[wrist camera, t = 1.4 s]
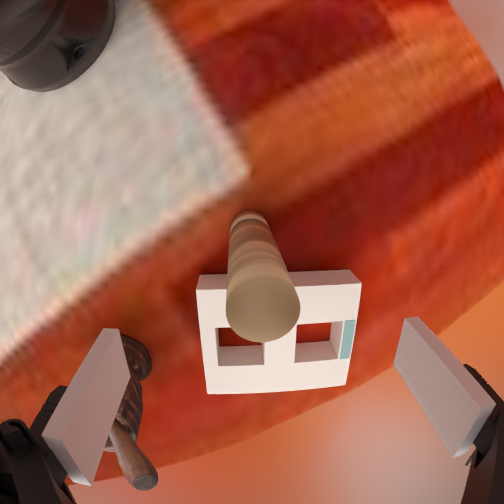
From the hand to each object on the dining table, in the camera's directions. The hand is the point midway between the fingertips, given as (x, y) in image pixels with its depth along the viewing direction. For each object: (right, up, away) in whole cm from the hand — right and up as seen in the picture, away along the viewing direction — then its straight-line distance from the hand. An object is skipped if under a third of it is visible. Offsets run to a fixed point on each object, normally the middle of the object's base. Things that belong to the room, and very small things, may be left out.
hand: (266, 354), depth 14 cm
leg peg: (-1, +7, +20) cm, 22 cm away
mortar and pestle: (-16, -9, +25) cm, 31 cm away
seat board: (+2, -4, +24) cm, 25 cm away
